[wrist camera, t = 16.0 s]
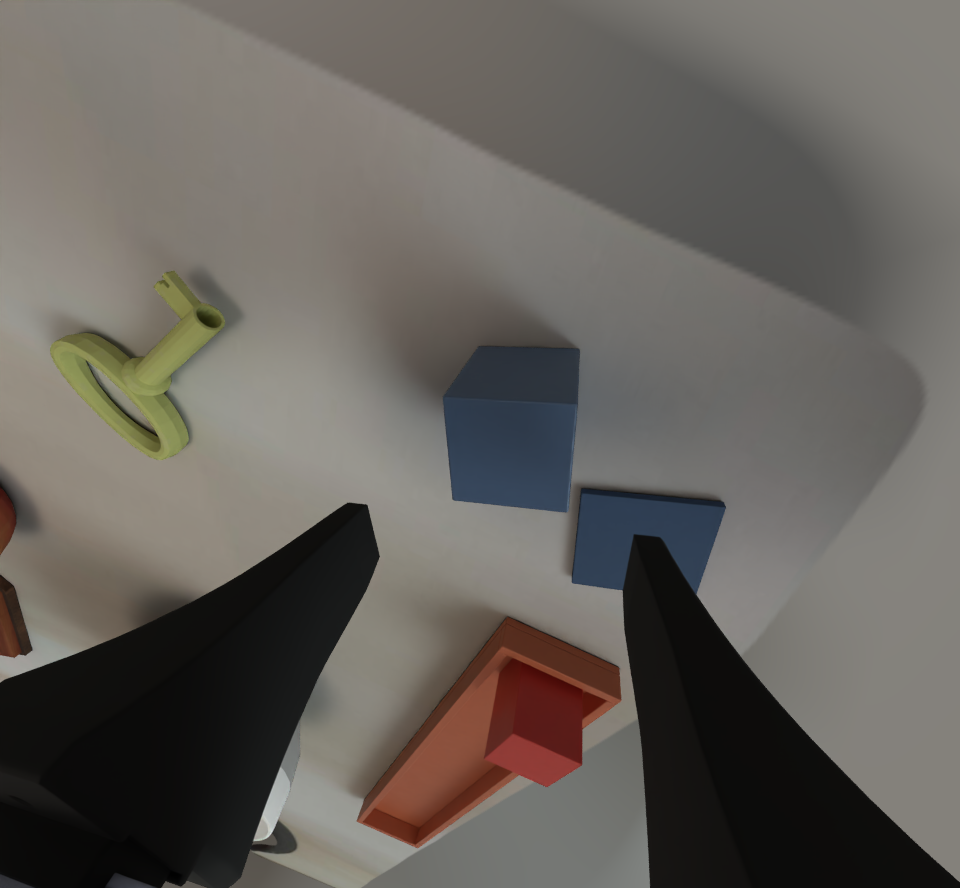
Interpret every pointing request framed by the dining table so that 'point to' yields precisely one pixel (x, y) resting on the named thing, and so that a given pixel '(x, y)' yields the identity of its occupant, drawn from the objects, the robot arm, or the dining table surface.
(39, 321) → the dining table surface
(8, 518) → the apple
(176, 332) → the key
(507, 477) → the blue block
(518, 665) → the red block
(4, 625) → the contraption on wooden base
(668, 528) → the blue mat
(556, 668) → the red tray
